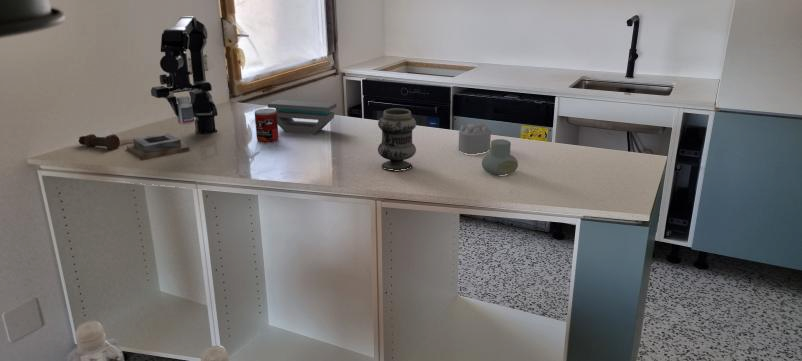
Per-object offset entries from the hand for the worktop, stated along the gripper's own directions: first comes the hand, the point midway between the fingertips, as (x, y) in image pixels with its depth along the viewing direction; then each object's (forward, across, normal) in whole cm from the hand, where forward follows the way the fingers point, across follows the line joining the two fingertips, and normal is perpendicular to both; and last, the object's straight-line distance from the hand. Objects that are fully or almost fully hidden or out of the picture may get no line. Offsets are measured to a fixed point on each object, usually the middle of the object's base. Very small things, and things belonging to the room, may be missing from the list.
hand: (185, 114), depth 203 cm
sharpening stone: (+13, -44, +4) cm, 46 cm away
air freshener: (+13, -61, +88) cm, 107 cm away
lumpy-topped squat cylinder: (+13, -73, +66) cm, 99 cm away
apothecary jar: (+13, -41, +62) cm, 76 cm away
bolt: (+13, +22, -25) cm, 36 cm away
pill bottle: (+3, 0, 0) cm, 3 cm away
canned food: (+13, -27, +7) cm, 31 cm away
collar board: (+13, +8, -8) cm, 17 cm away
